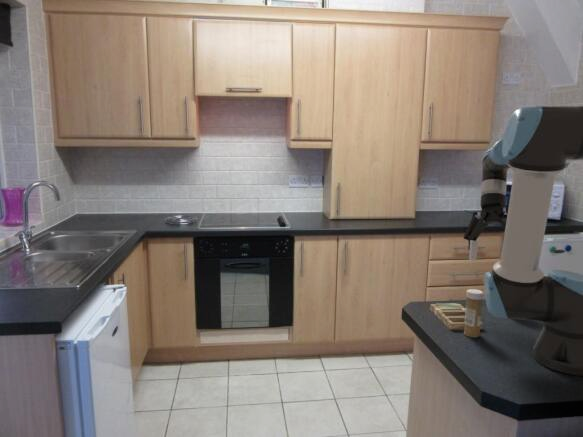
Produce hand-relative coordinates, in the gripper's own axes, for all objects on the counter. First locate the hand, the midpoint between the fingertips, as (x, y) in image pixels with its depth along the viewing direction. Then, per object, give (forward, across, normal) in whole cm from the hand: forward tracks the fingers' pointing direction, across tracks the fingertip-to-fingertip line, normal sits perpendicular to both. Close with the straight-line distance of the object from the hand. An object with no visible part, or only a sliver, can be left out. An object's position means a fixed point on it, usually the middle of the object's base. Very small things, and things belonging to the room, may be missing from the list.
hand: (490, 259), depth 139 cm
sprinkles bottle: (+24, 0, +7) cm, 26 cm away
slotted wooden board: (+20, +10, +3) cm, 22 cm away
